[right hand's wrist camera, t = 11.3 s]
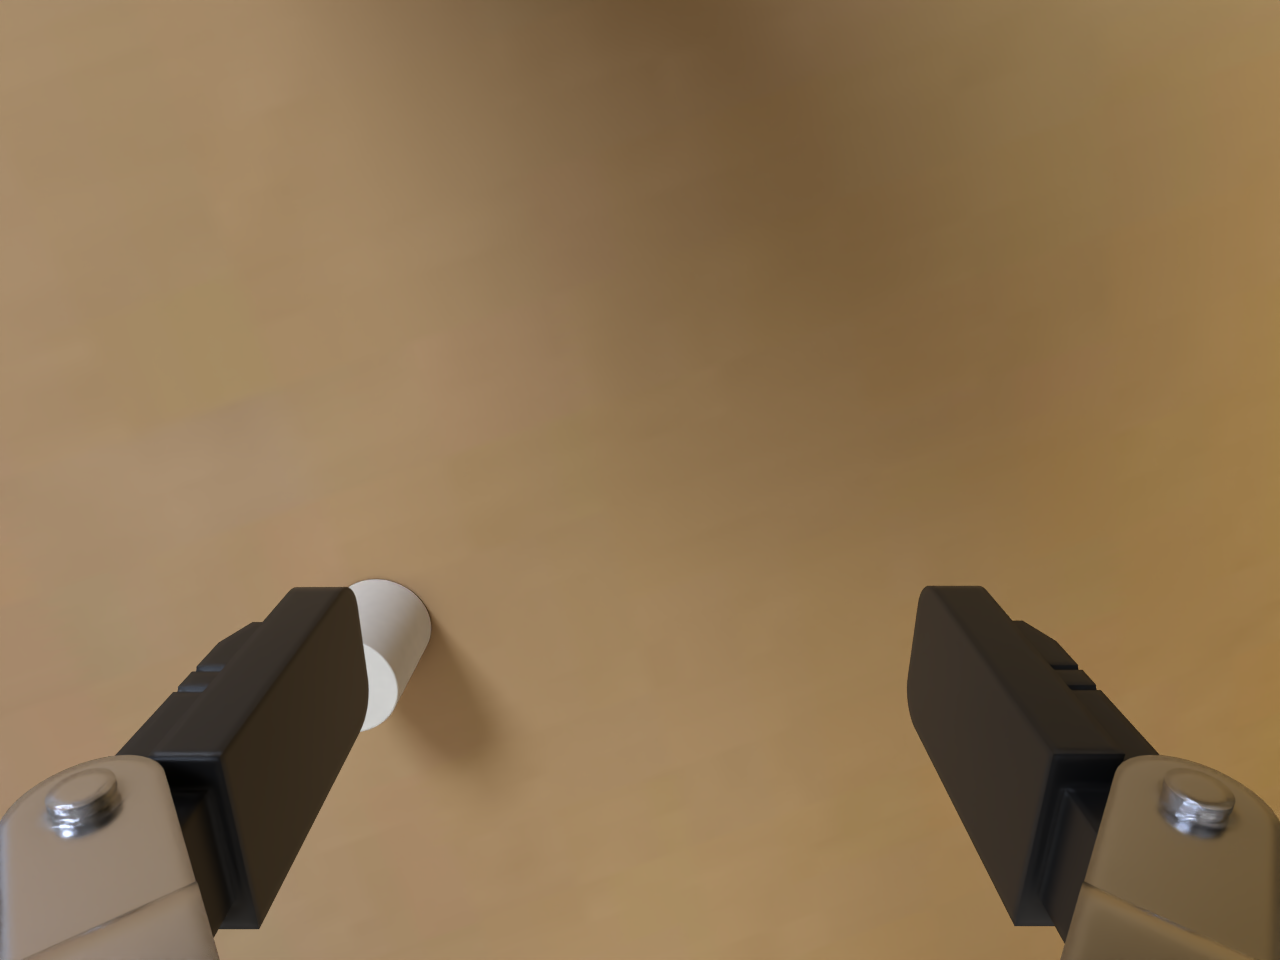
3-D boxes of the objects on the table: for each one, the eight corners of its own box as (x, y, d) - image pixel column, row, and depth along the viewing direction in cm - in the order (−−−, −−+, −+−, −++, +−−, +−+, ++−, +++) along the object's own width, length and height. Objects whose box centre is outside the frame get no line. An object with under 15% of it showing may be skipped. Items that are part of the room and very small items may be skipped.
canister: (347, 669, 32) (302, 737, 28) (321, 583, 31) (270, 642, 27) (441, 660, 32) (409, 728, 28) (419, 573, 31) (382, 631, 27)
